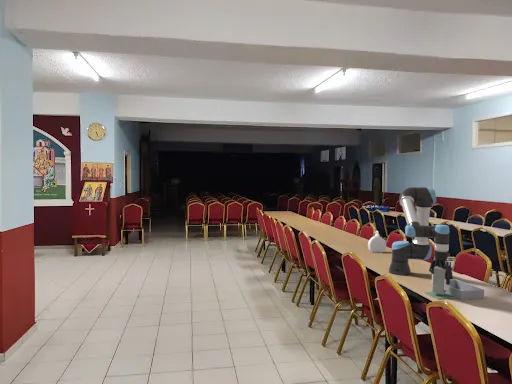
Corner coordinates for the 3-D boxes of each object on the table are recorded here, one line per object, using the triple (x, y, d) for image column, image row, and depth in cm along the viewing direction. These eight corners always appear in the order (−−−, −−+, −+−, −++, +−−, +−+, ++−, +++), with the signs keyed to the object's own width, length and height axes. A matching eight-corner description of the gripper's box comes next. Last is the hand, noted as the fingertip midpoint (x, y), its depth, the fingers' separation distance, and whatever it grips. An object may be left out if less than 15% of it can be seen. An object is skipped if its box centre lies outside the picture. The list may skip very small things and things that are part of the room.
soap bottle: (383, 251, 348) (384, 230, 347) (386, 252, 343) (386, 231, 342) (367, 251, 347) (368, 230, 346) (369, 252, 342) (370, 231, 341)
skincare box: (435, 289, 226) (436, 264, 225) (448, 291, 221) (449, 266, 220) (431, 292, 219) (432, 266, 218) (444, 295, 215) (445, 268, 214)
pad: (424, 292, 225) (424, 292, 225) (441, 291, 227) (441, 291, 227) (438, 299, 213) (438, 298, 213) (455, 298, 216) (455, 297, 216)
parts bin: (434, 288, 234) (435, 280, 234) (456, 286, 238) (456, 279, 238) (461, 299, 213) (461, 291, 213) (483, 298, 216) (484, 289, 216)
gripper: (423, 247, 229) (422, 281, 230) (449, 254, 207) (448, 293, 208) (433, 246, 231) (432, 281, 232) (461, 254, 209) (459, 292, 210)
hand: (440, 286), depth 220 cm, fingers closed on skincare box, 10 cm apart
